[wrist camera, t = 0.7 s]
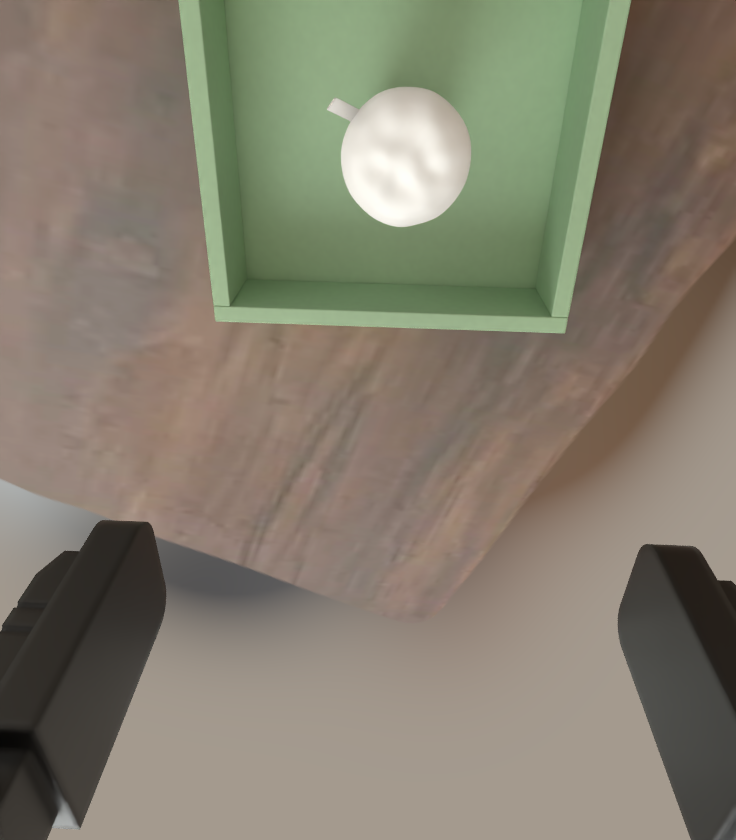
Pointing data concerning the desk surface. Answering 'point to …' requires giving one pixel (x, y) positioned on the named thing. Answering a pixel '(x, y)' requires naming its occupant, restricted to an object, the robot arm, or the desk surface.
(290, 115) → the tote
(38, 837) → the robot arm
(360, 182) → the milkshake
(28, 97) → the desk surface
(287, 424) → the desk surface
